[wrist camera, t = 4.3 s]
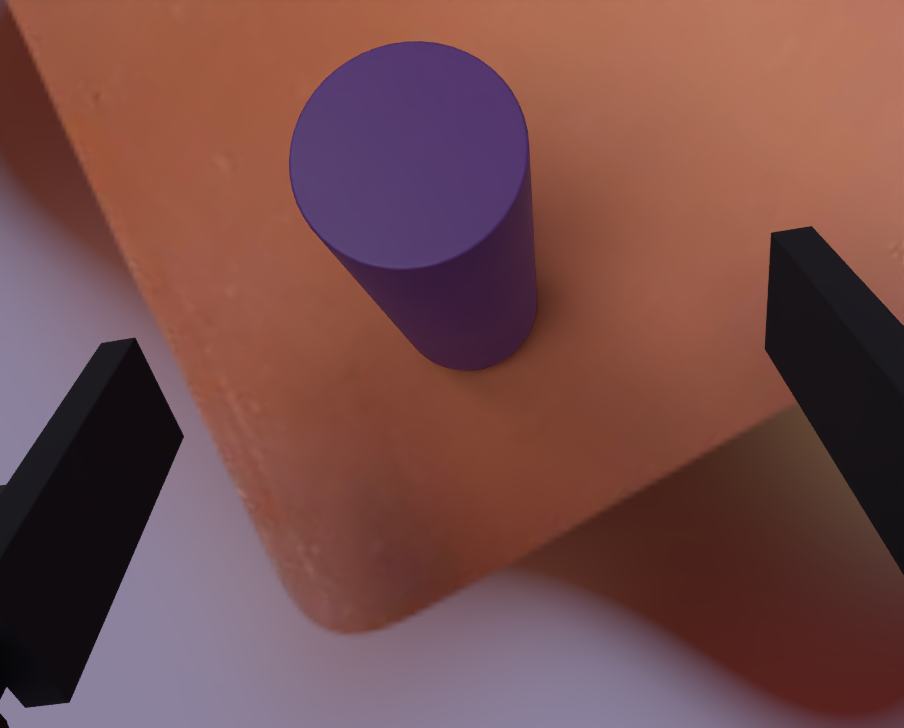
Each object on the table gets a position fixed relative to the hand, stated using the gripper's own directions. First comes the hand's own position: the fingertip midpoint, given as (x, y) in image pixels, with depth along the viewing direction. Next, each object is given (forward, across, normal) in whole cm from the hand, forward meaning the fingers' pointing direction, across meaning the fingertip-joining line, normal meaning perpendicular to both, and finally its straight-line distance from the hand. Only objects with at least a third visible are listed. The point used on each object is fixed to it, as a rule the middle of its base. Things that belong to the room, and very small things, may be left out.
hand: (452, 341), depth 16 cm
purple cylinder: (+8, 0, -4) cm, 10 cm away
